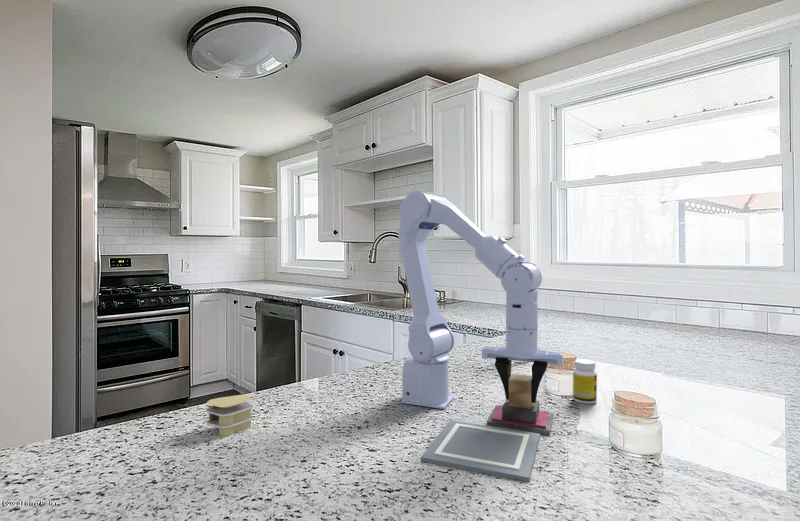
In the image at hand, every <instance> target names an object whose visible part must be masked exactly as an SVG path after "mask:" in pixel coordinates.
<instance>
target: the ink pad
mask: <svg viewBox="0 0 800 521" xmlns="http://www.w3.org/2000/svg"><path fill="white" fill-rule="evenodd" d="M503 405H504V404H503ZM503 405H500V404H499V405H495V406H494V408H493V410H492V412H491V413H490V415H489V416H488V418H487V420H486V426H493V427H499V428H506V429H513V430H519V431H526V432H532V433H539V434H540V435H547V436H550V435H551V431H552V427H553V426H552V425H553V423H554V412H550V411H546V410H540V409H539V414H538V418H537V421H536V423H534V422H527V421H520V420H513V419H506V418H502V407H503Z"/></svg>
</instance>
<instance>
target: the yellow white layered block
mask: <svg viewBox="0 0 800 521" xmlns="http://www.w3.org/2000/svg"><path fill="white" fill-rule="evenodd" d="M252 400H254V399H253V398H252V397H250V396H248V395H246V394H237V395H230V396H221V397H217V398H211V399H209V400H207V402H206V404H207V405H211V406H209V407H208V408H207V409H206V410H205V411H206V413H207V414H208V420H206V424H207V425H208V426H213V427H216V428H218V429H219V430H218V435H219V436H220V437H229V436H232V435H234V434H235V433H238V432H242V431H244V430H248V429H251V428H252V420H254V416H252V409H254V405H252V404H250V403H248V402H249V401H252Z"/></svg>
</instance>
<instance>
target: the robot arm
mask: <svg viewBox="0 0 800 521" xmlns="http://www.w3.org/2000/svg"><path fill="white" fill-rule="evenodd" d="M398 209H399V213H400V222H399V228H398V234H397V235H398V243H399V248H400V253H401V258H402V264H403V268H404V273H405V274H404V275H405V279H406V283H407V289H408V293H409V294H408V295H409V298H410V303H411V308H412V314H413V318H412V319H411V321H410V324H409V326H408V333H409V335H408V336H409V337H408V342H407V346H408V347H407V348H408V351H409V353H410V356H411V357H407V358H406V359H405V360H404V363H403V367H402V375H401V377H402V381H401V382H402V383H401V384H402V385H401V386H402V388H401V390H402V395H401V397H402V398H401V401H400V403H402V404H406V405H413V406H421V407H425V408H426V407H427V408H435V409H439V410H440V409H443V410H444V409H446V408H447V407H448V405H449V404H450V403H451V402H452V401H453V400H454V398H455V395H454V394H449V390H450V389H449V386H450V384H449V376H450V375H449V372H450V371H449V368H450V367H449V362H450V361H449V360H450V358H449V357H450V352H451V351H452V350H453V348H454V345H455V336H454V333H453V332H452V329H450V327H449V325H448V321H447V318H446V317H445V316H444V315H443V314H442V313H441V312H440V310H439V305H438V300H437V296H436V295H437V294H436V290H435V285H434V280H433V275H432V270H431V266H430V260H429V256H428V252H427V247H426V239H427V237H428V236H430V234H431V232H432V231H433V230H435V229H436V228H437V227H439V226H441V225H444V226H446V227H447V228H449V229H450V230H452V232H454V233H455V234H456V235H457V236H459V237H460V238H461V239H463V240H464V241H465V242H466V243H468V244H469V245H470V246H471V247H472V248H473V249H474V256H475V259H477V261H479V262H480V263H481V264H482V265H483V266H484V267H486V269H488V270H489V271H490V272H491V273H492V274H493V275H495V277H496V278H498V279H499V280H500V283H501V287H502V288H503V290H504V291H505V292H506V294H505V296H506V300H505V346H483V347H482V348H481V359H484V360H487V359H495V362H494V367H495V369H496V371H497V373H498V375H499V378H500V380H501V384H502V386H503V390H504V394H505V400H506V399H508V400H509V378H510V377H511V375H512V362H513V361H515V362H516V361H517V362H526V363H533V364H532V365H531V376H532V395H531V402H532V403H536V401H537V397H538V391H539V387H540V384H541V382H542V379H543V377H544V375H545V373H546V370H547V368H548V366H549V365H556V366H559V367H563V364H564V354H563V353H562V352H556V351H555V352H554V351H549V350H542V349H538V335H539V334H538V332H539V331H538V330H539V329H538V326H539V325H538V320H539V315H538V313H539V311H538V310H539V304H538V293H539V292H538V291H539V290H538V288H540V286H541V284H542V282H543V275H542V272H541V270H540V269H539V268H538V267H537V265H536V264H535V263H533V262H532V261H531V262H530V261H524V260H525V259H526V258H525V256H524V255H523V254H518V253H516V252H515V250H513V249H512V248H511V247H509V245H507V244H506V243H507V241H508V240H506V239H505V238H504V237H503V236H502V237H498V236H496V235H489V236H487V235H486V234H485V233H484V232H483V231H482V230H480V228H479V227H478V226H477V225H475V224H474V223H473V222H472V221H471V220H470V219H469V218H468V217H467V216H466V215H465V214H463V212H462V211H461V210H459V208H457V207H456V205H455V204H454V203H452V202H450V201H449V200H448V199H446V198H445V197H444V196H442V195H439V194H431V193H425V192H422V191H420V190H419V191H418V190H413V191H411V192H409V193H408V194H407V195H406V196H405V197H404V199H403V200H402V202H401V203H400V205H399V208H398Z"/></svg>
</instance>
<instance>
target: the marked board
mask: <svg viewBox="0 0 800 521" xmlns="http://www.w3.org/2000/svg"><path fill="white" fill-rule="evenodd" d="M540 439H541V434H539V433H532V432H526V431H519V430H513V429H506V428H500V427H493V426H487V424H486V425H485V424H481V423H480V424H479V423H473V422H468V421H467V422H465V421H458V420H452V419H449V421H448V422H447V423H446V425H445V426H444V427H443V428H442V430H441V431H440V432H439V433H438V434H437V436H436V437H435V438H434V440H432V442H431V443H430V445H429V446H428V448H427V449H426V450H425V451H424V453H423V454H422V455H421V457H420V461H421V462H423V463H424V462H425V463H430V464H435V465H439V466H443V467H444V466H445V467H450V468H451V467H452V468H454V469H455V468H456V469H461V470H465V471H471V472H476V473H482V474H487V475H491V476H492V475H493V476H495V477H502V478H505V479H506V478H507V479H512V480H518V481H523V482H527V483H529V482H530V479H531V475H532V473H533V467H534V463H535V459H536V455H537V452H538V447H539V443H540V441H541V440H540Z"/></svg>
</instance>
